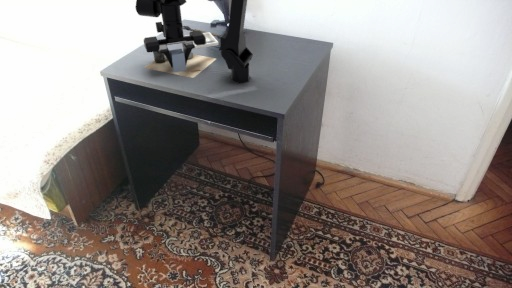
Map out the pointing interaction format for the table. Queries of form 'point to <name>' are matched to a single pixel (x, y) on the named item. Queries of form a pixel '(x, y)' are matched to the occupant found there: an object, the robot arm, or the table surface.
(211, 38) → the tray
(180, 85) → the table surface
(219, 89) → the table surface
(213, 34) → the tactical tomahawk
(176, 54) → the block
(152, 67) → the crank plate
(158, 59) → the crank
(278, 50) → the table surface
